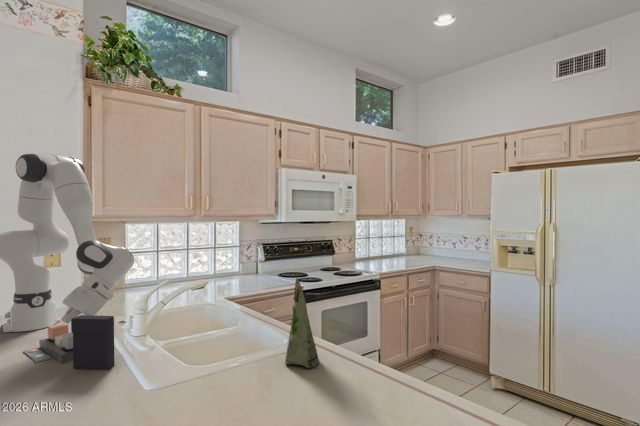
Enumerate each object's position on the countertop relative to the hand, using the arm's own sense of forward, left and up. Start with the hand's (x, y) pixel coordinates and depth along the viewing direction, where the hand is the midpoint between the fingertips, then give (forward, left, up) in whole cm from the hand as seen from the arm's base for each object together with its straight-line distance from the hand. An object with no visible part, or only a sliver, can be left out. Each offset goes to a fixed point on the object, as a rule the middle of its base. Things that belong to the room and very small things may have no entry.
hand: (64, 321), depth 121 cm
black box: (+22, +1, -10) cm, 24 cm away
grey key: (+7, 0, -6) cm, 10 cm away
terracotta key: (-7, 0, -6) cm, 9 cm away
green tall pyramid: (+69, +40, -10) cm, 81 cm away
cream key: (0, 0, -9) cm, 9 cm away
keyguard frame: (0, 0, -10) cm, 10 cm away
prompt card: (-3, -7, -10) cm, 12 cm away
